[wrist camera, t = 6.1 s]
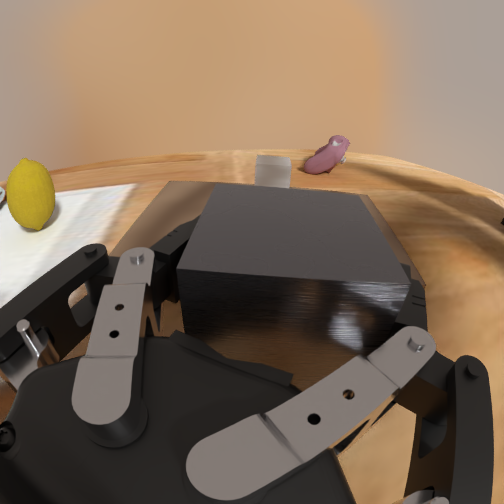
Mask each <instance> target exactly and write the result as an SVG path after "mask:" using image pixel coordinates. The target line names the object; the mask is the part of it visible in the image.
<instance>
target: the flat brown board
mask: <svg viewBox="0 0 504 504" xmlns="http://www.w3.org/2000/svg"><path fill="white" fill-rule="evenodd" d="M290 176H291V162H290V158H289V157H278V156H265V155H257V159H256V169H255V184H241V183H221V182H195V181H169V182H168V183H167V184H166V185H165V187H164V188H163V189H162V190H161V191H160V192H159V194H158V195H157V196H156V197H155V198H154V199H153V201H152V202H151V203H150V204H149V205H148V206H147V208H146V209H145V210H144V211H143V213H142V214H141V215H140V216H139V217H138V219H137V220H136V221H135V222H134V224H133V225H132V226H131V227H130V229H129V230H128V231H127V232H126V234H125V235H124V236H123V237H122V239H121V240H120V241H119V243H118V244H117V245H116V247H115V248H114V249H113V251H112V252H111V253H110V255H109V256H115V257H121V255H122V254H123V253H124V252H126V251H127V250H130V249H132V248H137V247H145V248H150V247H151V246H152V245H154V244H155V243H156V242H158V241H159V240H160V239H162V238H163V237H164V236H167V234H168V233H170V232H171V231H173V230H174V229H175V228H176V227H178V226H179V225H180V224H183V223H186V222H188V221H192V220H193V219H195V218H196V217H198V216H199V215H200V214H201V213H202V211H203V209H204V207H205V205H206V203H207V201H208V199H209V197H210V195H211V193H212V191H213V189H214V187H215V185H216V183H217V184H236V185H252V186H267V187H280V188H292V189H303V190H313V191H323V192H332V193H341V194H350V195H358V196H359V197H360V198H361V200H362V201H363V203H364V204H365V206H366V207H367V209H368V210H369V212H370V214H371V215H372V217H373V218H374V220H375V222H376V223H377V225H378V227H379V228H380V230H381V231H382V233H383V235H384V237H385V238H386V240H387V242H388V243H389V245H390V247H391V248H392V250H393V252H394V254H395V255H396V257H397V259H398V261H399V262H400V263H404V264H408V265H410V268H411V279H415V280H419V281H420V283H421V285H422V286H423V288H425V286H426V284H425V282H424V281H423V279H422V277H421V276H420V274H419V272H418V270H417V269H416V267H415V266H414V264H413V262H412V261H411V259H410V257H409V256H408V254H407V253H406V251H405V249H404V248H403V246H402V245H401V243H400V242H399V240H398V239H397V237H396V236H395V234H394V232H393V231H392V229H391V228H390V227H389V225H388V224H387V222H386V221H385V219H384V218H383V216H382V215H381V213H380V212H379V211H378V209H377V208H376V206H375V205H374V204H373V202H372V201H371V199H370V198H369V197H368V195H363V194H355V193H346V192H337V191H328V190H318V189H308V188H296V187H289V186H290Z"/></svg>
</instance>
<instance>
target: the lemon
mask: <svg viewBox="0 0 504 504" xmlns="http://www.w3.org/2000/svg"><path fill="white" fill-rule="evenodd" d="M6 195H7V203H8V207H9V210H10V213H11V215H12V217H13V218H14V219H15V221H16V222H17V223H18V224H20V225H21V226H23V227H26V228H33V229H35V230H37V231H39V230H41V229H42V227H43V225H44V223H45V222H46V221H47V220H48V219H49V218H50V216H51V215H52V212H53V210H54V206H55V190H54V185H53V182H52V179H51V176H50V174H49V172H48V170H47V169H46V168H45V167H44V166H43V165H42V164H41V163H39V162H37V161H33V160H28V159H27V158H24V159H21V160H20V163H19V164H18V165H17V166H16V167H15V168H14V169H13V170H12V172H11V173H10V175H9V177H8V180H7V187H6Z"/></svg>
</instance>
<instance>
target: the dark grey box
mask: <svg viewBox="0 0 504 504" xmlns="http://www.w3.org/2000/svg"><path fill="white" fill-rule="evenodd" d="M176 271H177V279H178V287H179V295H180V303H181V310H182V317H183V324H184V331H185V334H187V335H189V336H192V337H194V338H196V339H199V340H201V341H203V342H204V343H206V344H207V345H208V346H210V347H211V348H213V349H214V350H216V351H217V352H218V353H220V354H221V355H223V356H224V357H226V358H228V359H234V360H240V361H247V362H254V363H262V364H265V365H268V366H271V367H274V368H277V369H280V370H283V371H286V372H289V373H292V374H294V375H293V379H292V382H291V384H293V385H294V386H296V387H297V388H299V389H300V390H301V391H305V390H306V389H308V388H309V387H311V386H313V385H314V384H316V383H317V382H319V381H320V380H322V379H324V378H325V377H327V376H328V375H330V374H331V373H333V372H334V371H336V370H337V369H338V368H340V367H341V366H343V365H344V364H346V363H347V362H349V361H350V360H351V359H353V358H354V357H356V356H357V355H360V354H363V355H364V356H365V357H367V356H369V355H370V354H371V353H373V352H374V351H375V350H376V349H378V348H379V347H380V346H381V345H383V344H384V343H385V341H386V339H387V337H388V335H389V333H390V330H391V328H392V326H393V324H394V322H395V320H396V318H397V316H398V313H399V311H400V309H401V307H402V305H403V302H404V300H405V298H406V295H407V293H408V291H409V288H410V286H411V283H410V281H409V279H408V277H407V275H406V274H405V272H404V270H403V268H402V266H401V264H400V263H399V261H398V259H397V257H396V255H395V254H394V252H393V250H392V248H391V247H390V245H389V243H388V242H387V240H386V238H385V237H384V235H383V233H382V231H381V230H380V228H379V227H378V225H377V223H376V222H375V220H374V218H373V217H372V215H371V214H370V212H369V210H368V209H367V207H366V206H365V204H364V203H363V201H362V200H361V198H360V197H359V196H358V195H350V194H341V193H332V192H323V191H313V190H303V189H292V188H280V187H267V186H252V185H236V184H217V183H216V185H215V187H214V189H213V191H212V193H211V195H210V197H209V199H208V201H207V203H206V205H205V207H204V209H203V211H202V213H201V216H200V218H199V220H198V222H197V224H196V226H195V228H194V230H193V233H192V235H191V237H190V239H189V241H188V243H187V246H186V248H185V250H184V252H183V254H182V257H181V259H180V261H179V263H178V265H177V268H176Z"/></svg>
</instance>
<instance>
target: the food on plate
mask: <svg viewBox="0 0 504 504" xmlns="http://www.w3.org/2000/svg"><path fill="white" fill-rule="evenodd" d="M0 192H2V194H1V195H0V204H1V201H3V200H4V197H5V196H6V195H5V194H6V191H5V190H3V189H2V188H1V187H0Z"/></svg>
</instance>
